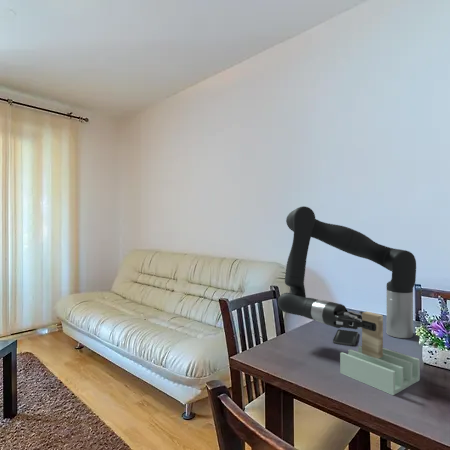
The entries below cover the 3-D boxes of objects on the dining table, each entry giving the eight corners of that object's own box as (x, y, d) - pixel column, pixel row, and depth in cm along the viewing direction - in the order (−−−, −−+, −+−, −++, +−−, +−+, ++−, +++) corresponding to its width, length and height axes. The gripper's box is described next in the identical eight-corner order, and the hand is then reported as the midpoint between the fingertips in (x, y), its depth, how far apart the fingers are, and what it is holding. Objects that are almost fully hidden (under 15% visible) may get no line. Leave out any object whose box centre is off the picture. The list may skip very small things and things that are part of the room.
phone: (332, 341, 127) (337, 329, 140) (332, 344, 127) (337, 332, 140) (355, 344, 123) (358, 331, 137) (355, 347, 123) (358, 334, 137)
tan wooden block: (366, 351, 104) (367, 311, 104) (382, 356, 100) (382, 315, 100) (362, 353, 103) (362, 312, 102) (377, 358, 98) (378, 316, 98)
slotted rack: (367, 361, 110) (367, 342, 110) (419, 380, 97) (419, 359, 97) (340, 373, 102) (340, 352, 102) (393, 395, 89) (393, 372, 89)
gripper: (314, 304, 110) (364, 317, 95) (341, 298, 118) (391, 309, 103) (314, 328, 110) (364, 344, 96) (341, 320, 118) (391, 334, 104)
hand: (378, 326), depth 100 cm, fingers closed on tan wooden block, 2 cm apart
